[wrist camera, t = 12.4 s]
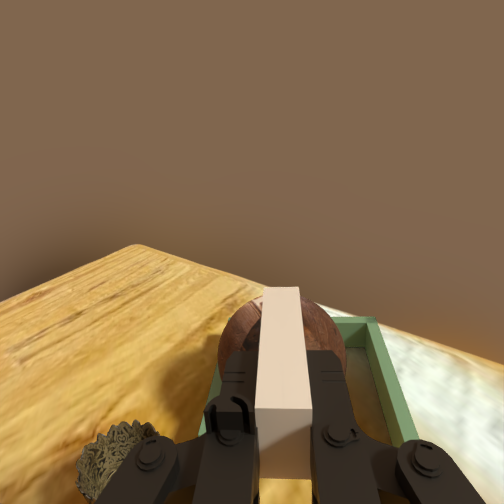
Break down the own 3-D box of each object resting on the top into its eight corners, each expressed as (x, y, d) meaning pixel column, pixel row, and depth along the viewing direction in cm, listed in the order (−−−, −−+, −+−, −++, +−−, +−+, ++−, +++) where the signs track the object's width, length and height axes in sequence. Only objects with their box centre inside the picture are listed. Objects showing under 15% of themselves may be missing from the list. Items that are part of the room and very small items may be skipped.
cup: (100, 485, 37) (79, 432, 34) (171, 461, 39) (157, 409, 36) (95, 567, 31) (67, 512, 27) (179, 533, 33) (164, 478, 29)
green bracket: (415, 472, 36) (420, 442, 34) (203, 463, 39) (198, 434, 37) (373, 340, 54) (375, 316, 52) (231, 340, 57) (228, 317, 55)
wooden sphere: (285, 346, 55) (281, 259, 48) (369, 405, 44) (378, 302, 38) (202, 399, 47) (184, 303, 40) (280, 487, 36) (272, 374, 29)
